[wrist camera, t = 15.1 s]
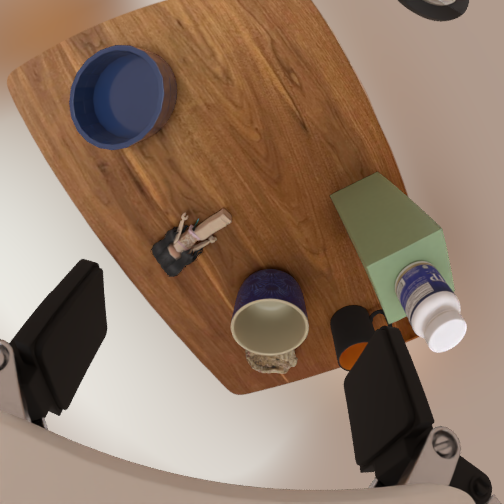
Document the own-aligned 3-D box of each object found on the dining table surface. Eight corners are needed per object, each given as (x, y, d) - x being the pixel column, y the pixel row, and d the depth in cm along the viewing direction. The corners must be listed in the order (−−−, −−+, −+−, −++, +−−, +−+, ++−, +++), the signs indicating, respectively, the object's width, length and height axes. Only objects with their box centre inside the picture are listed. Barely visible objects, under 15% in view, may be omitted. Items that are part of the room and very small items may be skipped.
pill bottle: (444, 275, 29) (481, 327, 22) (412, 307, 32) (440, 364, 24) (417, 250, 28) (456, 303, 20) (383, 286, 30) (411, 346, 23)
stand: (329, 195, 49) (366, 266, 29) (377, 171, 46) (442, 228, 27) (350, 239, 52) (389, 324, 33) (395, 217, 50) (455, 291, 30)
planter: (308, 264, 55) (315, 302, 45) (298, 317, 61) (301, 358, 51) (238, 258, 55) (231, 295, 46) (235, 312, 61) (229, 352, 52)
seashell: (257, 318, 65) (234, 356, 66) (260, 328, 58) (235, 370, 59) (301, 340, 66) (278, 376, 67) (309, 352, 59) (283, 391, 60)
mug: (390, 312, 60) (405, 347, 50) (342, 341, 64) (350, 377, 55) (373, 287, 57) (388, 323, 48) (322, 319, 61) (329, 357, 52)
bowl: (99, 49, 38) (78, 46, 32) (186, 53, 39) (174, 48, 33) (86, 136, 45) (65, 143, 40) (167, 148, 46) (153, 156, 41)
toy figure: (204, 188, 50) (149, 246, 54) (201, 203, 44) (141, 265, 49) (235, 216, 53) (179, 269, 57) (236, 234, 47) (174, 290, 52)
